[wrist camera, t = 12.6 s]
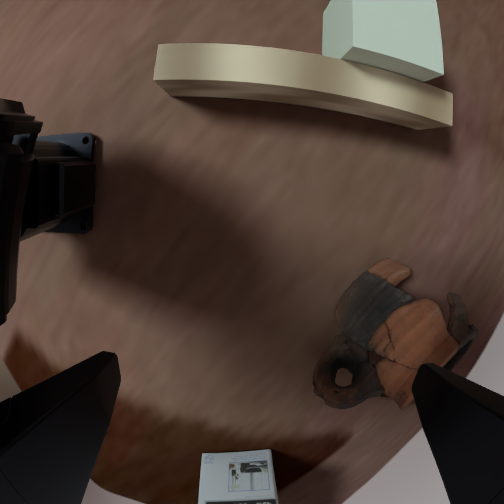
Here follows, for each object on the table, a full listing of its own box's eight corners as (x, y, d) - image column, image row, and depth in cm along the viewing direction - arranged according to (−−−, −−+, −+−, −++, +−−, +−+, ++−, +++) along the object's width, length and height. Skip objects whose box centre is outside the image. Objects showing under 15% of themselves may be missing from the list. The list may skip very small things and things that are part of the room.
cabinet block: (320, 78, 17) (352, 46, 11) (323, 11, 15) (350, -34, 10) (393, 93, 17) (443, 74, 11) (391, 29, 16) (435, -4, 10)
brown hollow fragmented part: (415, 226, 20) (503, 294, 14) (403, 303, 26) (463, 362, 20) (271, 319, 18) (353, 433, 12) (295, 379, 24) (350, 456, 18)
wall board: (170, 96, 17) (153, 79, 13) (174, 66, 16) (158, 44, 12) (417, 130, 18) (452, 126, 14) (418, 102, 17) (452, 93, 13)
